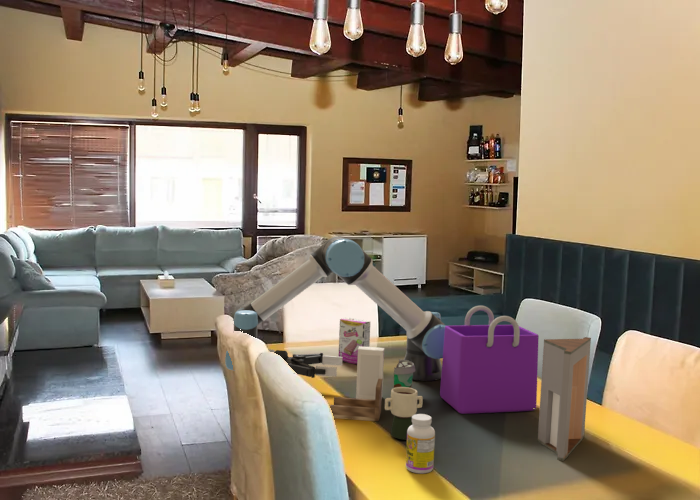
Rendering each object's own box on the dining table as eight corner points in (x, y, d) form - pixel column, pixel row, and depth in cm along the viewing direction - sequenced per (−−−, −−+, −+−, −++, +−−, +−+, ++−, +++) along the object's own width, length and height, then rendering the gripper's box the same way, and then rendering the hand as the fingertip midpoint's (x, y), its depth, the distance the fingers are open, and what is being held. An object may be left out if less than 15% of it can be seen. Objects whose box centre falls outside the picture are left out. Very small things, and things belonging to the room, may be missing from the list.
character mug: (415, 431, 193) (417, 385, 192) (426, 440, 186) (428, 393, 185) (378, 434, 190) (380, 387, 188) (388, 444, 183) (390, 395, 182)
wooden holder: (380, 411, 209) (382, 378, 208) (378, 421, 200) (380, 387, 199) (334, 408, 211) (335, 375, 210) (329, 417, 202) (330, 383, 201)
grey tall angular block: (563, 461, 176) (570, 351, 173) (526, 452, 181) (532, 346, 178) (584, 437, 193) (590, 337, 191) (549, 429, 199) (555, 332, 196)
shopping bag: (501, 390, 235) (506, 302, 233) (545, 410, 216) (551, 314, 213) (430, 398, 224) (434, 306, 221) (469, 420, 204) (474, 319, 201)
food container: (412, 400, 221) (413, 369, 220) (392, 398, 222) (394, 367, 221) (416, 389, 233) (417, 360, 232) (397, 387, 234) (399, 358, 233)
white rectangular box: (382, 396, 224) (384, 347, 222) (381, 400, 219) (383, 351, 218) (357, 395, 225) (359, 346, 223) (355, 399, 220) (357, 349, 219)
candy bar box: (337, 361, 267) (339, 318, 265) (344, 358, 271) (346, 317, 269) (362, 366, 261) (364, 322, 259) (369, 363, 265) (371, 320, 263)
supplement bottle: (403, 463, 171) (405, 412, 169) (430, 463, 171) (432, 412, 170) (407, 474, 164) (410, 421, 163) (435, 474, 165) (438, 421, 163)
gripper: (282, 363, 237) (343, 368, 235) (264, 383, 213) (333, 389, 210) (282, 341, 237) (344, 346, 234) (265, 359, 212) (334, 364, 210)
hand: (339, 366), depth 222 cm, fingers open, 13 cm apart
